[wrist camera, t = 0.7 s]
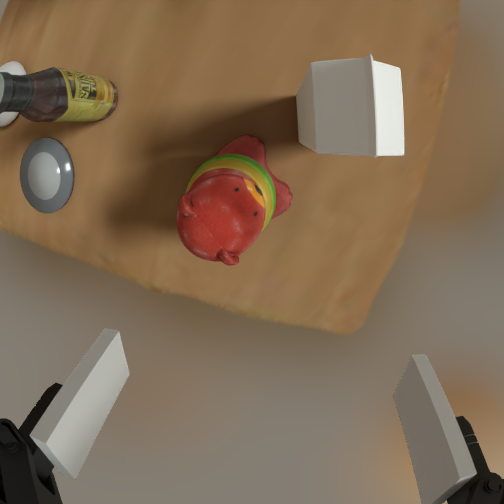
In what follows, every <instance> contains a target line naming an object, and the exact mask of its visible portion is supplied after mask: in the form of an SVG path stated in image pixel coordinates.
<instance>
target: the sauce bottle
mask: <svg viewBox="0 0 504 504" xmlns="http://www.w3.org/2000/svg"><path fill="white" fill-rule="evenodd" d="M117 102H118V93H117V88H116V87H115V85H114V84H113V83H112V82H110V81H109V80H107V79H105V78H103V77H99V76H95V75H90V74H85V73H81V72H76V71H70V70H65V69H61V68H54V67H52V68H49V69H46V70H43V71H40V72H36V73H33V74H29V75H11V74H10V73H8V72H0V114H1V113H3V112H20V114H21V115H22V116H24V117H25V118H26V119H28V120H31V121H35V122H42V121H46V122H70V121H88V122H92V121H96V120H97V121H99V120H103V119H105V118H106V117H108V116H110V114H111V113H112V112H113V111H114V109H115V108H116V106H117Z"/></svg>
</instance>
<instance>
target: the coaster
mask: <svg viewBox="0 0 504 504" xmlns="http://www.w3.org/2000/svg"><path fill="white" fill-rule="evenodd" d="M20 180H21V186H22V189H23V192H24V195H25V197H26V199H27V200H28V202H29V203H30V204H31V205H32V206H33V207H34V208H35V209H36V210H38V211H40V212H43V213H52V212H55V211H57V210H59V209H61V208H62V207H63V206H64V205H65V204H66V203H67V202H68V200H69V198H70V196H71V194H72V191H73V186H74V167H73V163H72V159H71V157H70V154H69V152H68V151H67V149H66V148H65V146H64V145H63V144H62V143H61V142H59V141H58V140H56V139H54V138H41V139H38V140H36V141H34V142H33V143H32V144H31V145H30V146H29V147H28V148H27V150H26V151H25V153H24V156H23V158H22V162H21V167H20Z"/></svg>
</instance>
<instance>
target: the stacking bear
mask: <svg viewBox="0 0 504 504" xmlns="http://www.w3.org/2000/svg"><path fill="white" fill-rule="evenodd" d="M289 190H290V189H289V186H288V185H287V184H285V183H284V182H282V181H280V180H279V179H277V178H276V177H275V176H274V175H273V174H272V173H271V172H270V170H269V168H268V166H267V164H266V150H265V146H264V144H263V143H261V142H260V139H259V138H258V137H252V136H251V135H243V136H240V137H238V138H236V139H235V140H233V141H231V142H230V143H228V144H227V145H226V146H225V147H223V148H222V149H221V150H220V151H219V152H218V153H217V155H216V156H215V157H213V158H211V159H209V160H207V161H206V162H204V163H203V164H202V165H201V166H200V167H199V168H198V169H197V170H196V171H195V172H194V174H193V175H192V177H191V179H190V181H189V183H188V186H187V189H186V193H185V194H184V195H182V196H181V198H180V199H179V203H178V206H179V207H178V211H177V219H176V221H177V229H178V234H179V237H180V239H181V241H182V243H183V244H184V246H185V247H186V248H187V249H188V250H189V251H190V252H191V253H193V254H194V255H196V256H197V257H199V258H202V259H205V260H209V261H222V262H223V263H224V264H226V265H236V264H238V263H239V257H238V255H240V254H241V253H243V252H244V251H245V250H246V249H248V248H249V247H250V246H251V245H252V244H253V242H254V241H255V240H256V238H257V237H258V235H259V234H260V233H261V232H262V231H263V230H264V228H265V227H266V226H267V224H268V223H269V221H270V219H272V218H274V217H276V216H278V215H280V214H282V213H283V212H285V211H286V210H287V209H288V208H289V207H290V201H291V200H292V194H291V192H290V191H289Z"/></svg>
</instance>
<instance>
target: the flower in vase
mask: <svg viewBox="0 0 504 504" xmlns="http://www.w3.org/2000/svg"><path fill="white" fill-rule="evenodd" d="M0 72H8V73H10V74H11V75H26V71H25V69H24V68H23V66H22V65H21V64H20V63H19V62H16V61H11V62H8V63H6V64H4V65H2V66H1V67H0ZM18 114H19V112H3V113H1V114H0V126H6V125H8V124H10V123H11V122H12V121H13V120H14V119H15V118H16V117H17V115H18Z"/></svg>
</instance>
